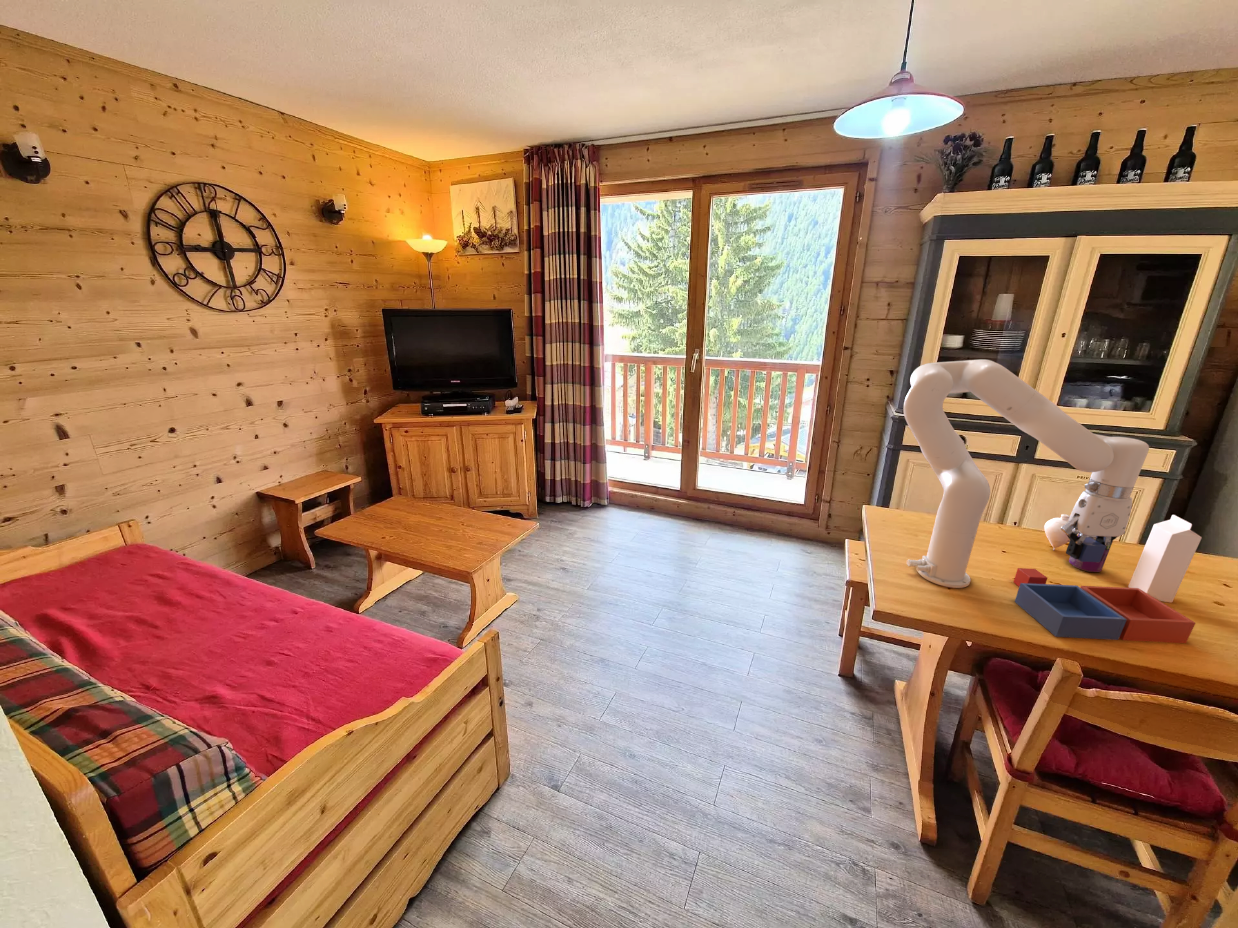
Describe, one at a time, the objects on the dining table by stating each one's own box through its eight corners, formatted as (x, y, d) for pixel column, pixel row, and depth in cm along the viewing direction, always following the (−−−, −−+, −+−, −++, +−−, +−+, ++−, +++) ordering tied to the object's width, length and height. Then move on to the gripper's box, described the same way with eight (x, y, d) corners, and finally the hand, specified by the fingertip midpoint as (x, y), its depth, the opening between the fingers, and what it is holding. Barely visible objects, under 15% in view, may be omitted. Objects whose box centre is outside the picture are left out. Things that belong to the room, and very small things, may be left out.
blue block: (1080, 561, 119) (1087, 545, 117) (1065, 552, 123) (1071, 536, 121) (1099, 562, 118) (1106, 546, 117) (1083, 553, 123) (1090, 537, 121)
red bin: (1122, 640, 110) (1131, 619, 109) (1073, 604, 123) (1080, 585, 121) (1186, 643, 110) (1195, 622, 108) (1130, 606, 122) (1138, 587, 121)
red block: (1025, 591, 128) (1029, 577, 127) (1013, 582, 133) (1017, 567, 131) (1042, 592, 128) (1047, 577, 127) (1030, 582, 132) (1035, 568, 131)
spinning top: (1032, 547, 151) (1043, 512, 147) (1045, 542, 155) (1057, 508, 151) (1061, 558, 145) (1074, 522, 141) (1075, 553, 148) (1088, 517, 144)
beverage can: (1107, 575, 136) (1122, 537, 132) (1078, 572, 138) (1092, 534, 134) (1089, 562, 143) (1103, 526, 139) (1062, 559, 144) (1074, 523, 140)
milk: (1144, 599, 126) (1176, 523, 118) (1127, 586, 131) (1157, 512, 124) (1173, 602, 124) (1207, 525, 117) (1154, 589, 130) (1186, 515, 122)
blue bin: (1055, 636, 111) (1063, 616, 109) (1014, 601, 124) (1020, 582, 122) (1118, 639, 110) (1127, 619, 109) (1070, 604, 123) (1077, 585, 121)
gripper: (1085, 494, 111) (1060, 563, 117) (1161, 496, 111) (1131, 565, 117) (1059, 482, 118) (1036, 548, 124) (1130, 484, 118) (1103, 550, 124)
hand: (1082, 555), depth 120 cm, fingers closed on blue block, 4 cm apart
